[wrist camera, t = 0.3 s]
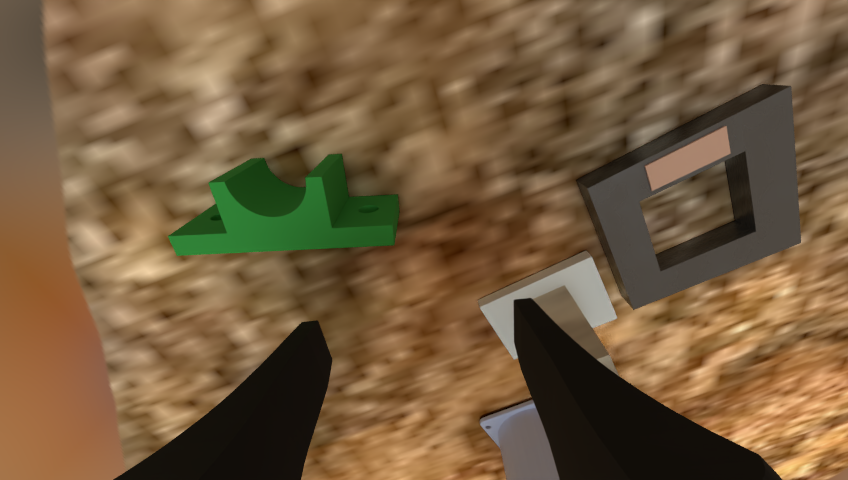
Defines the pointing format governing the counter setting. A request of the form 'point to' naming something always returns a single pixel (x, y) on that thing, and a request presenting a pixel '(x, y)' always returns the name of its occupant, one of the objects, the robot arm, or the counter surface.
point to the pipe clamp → (287, 213)
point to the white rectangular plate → (570, 272)
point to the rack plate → (683, 158)
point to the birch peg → (574, 323)
